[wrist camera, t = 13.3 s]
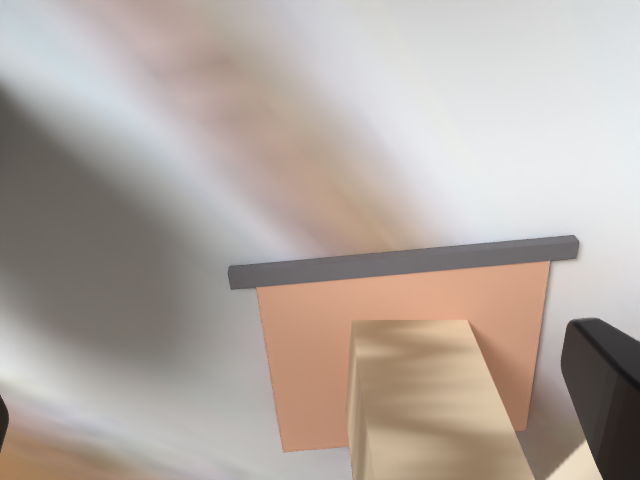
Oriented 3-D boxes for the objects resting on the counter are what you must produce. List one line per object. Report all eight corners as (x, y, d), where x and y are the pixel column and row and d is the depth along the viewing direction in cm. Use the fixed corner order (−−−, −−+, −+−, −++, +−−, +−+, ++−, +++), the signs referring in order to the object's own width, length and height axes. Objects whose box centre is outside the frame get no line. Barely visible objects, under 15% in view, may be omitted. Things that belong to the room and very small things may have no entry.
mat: (263, 447, 29) (263, 456, 28) (228, 266, 23) (227, 273, 23) (543, 422, 29) (546, 430, 28) (573, 235, 23) (579, 241, 23)
